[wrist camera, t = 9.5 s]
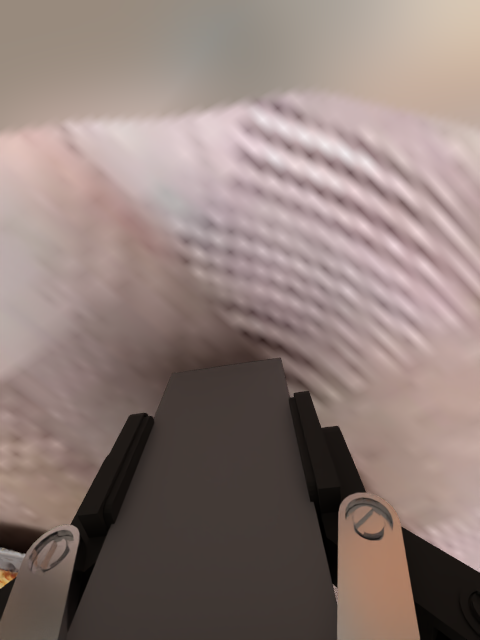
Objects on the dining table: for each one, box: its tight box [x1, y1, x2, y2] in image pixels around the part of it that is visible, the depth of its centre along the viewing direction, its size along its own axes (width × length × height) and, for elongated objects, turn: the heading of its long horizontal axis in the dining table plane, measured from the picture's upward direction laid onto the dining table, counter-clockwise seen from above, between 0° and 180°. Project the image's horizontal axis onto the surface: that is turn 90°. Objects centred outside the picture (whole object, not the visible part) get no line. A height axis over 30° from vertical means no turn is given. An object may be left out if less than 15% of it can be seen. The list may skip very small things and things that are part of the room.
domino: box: [66, 358, 337, 640], centre depth 10 cm, size 2×5×10 cm, turn 100°
